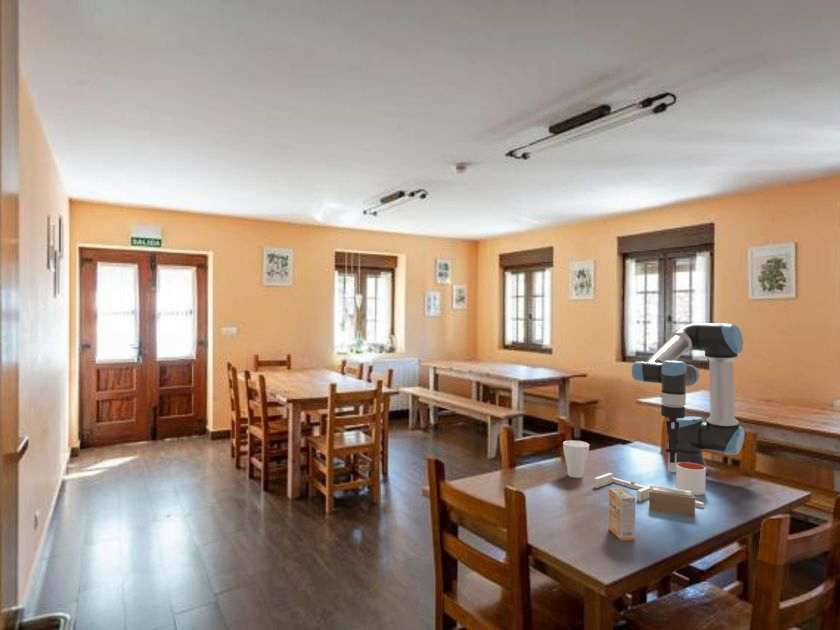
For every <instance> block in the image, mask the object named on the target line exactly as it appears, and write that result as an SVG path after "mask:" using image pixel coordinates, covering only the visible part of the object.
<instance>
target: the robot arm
mask: <svg viewBox="0 0 840 630" xmlns="http://www.w3.org/2000/svg"><path fill="white" fill-rule="evenodd" d="M742 334H743V333H742V331H741V330H740V328H739V327H738V326H737V325H736V324H733V323H726V322H725V323H723V322H722V323H715V322H714V323H712V322H709V323H708V322H707V323H706V322H705V323H704V322H702V323H701V322H694V323H690V324H686V325H684V326H682V327H679V328H678V329H676V330H675V331H673V332H672V333H670V335H669V336H668V338H667V341H666V342H665V343H663V345H662V346H661V347H659V348H658V349H657V350H656V351H655V352H654V353H653V354H651V355H650V356H649V358H647V359H646V360H645V361H643V360H641V361H635V362H633V364H632V366H631V376H632V378H633V379H634V380H635V381H638V382H643V383H654V384H661V394H659V398H661V401H660V402H661V405H660V407H661V408H660V416H662V417H664V418H668V420H666V434H667V436H668V437H667V438H668V440H667V442H668V443H667V448H666V449H665V453H667V472H669V473H670V472H671V473H675V474H676V473H677V463H679V462H689V463H695V464H699V465H702V466H704V467H705V468H706V474H707V473H708V472H707V469H708V468H707V464H706V461H705V459H704V455H703V450H704V451H710V452H716V453H721V454H724V455H732V456H735V455H738V454H739V453H740V451H741V450H742V447H743V444H744V441H745V429H744V427H742V426H740V421H739V420H738V419H736V417H735V386H734V385H735V384H734V379H735V378H734V376H735V375H734V361H735V360H736V358H738V354H741V353H742V351H743V349H744V348H743V347H744V341H743V340H744V339H743V335H742ZM690 351H700V352H702V351H703V352H704V357H705V358H706V359H707V360H708V362H709V363H708V365H709V408H710V409H709V410H710V412H709V413H710V415H709V417H707V418H706V420H704V418H703V417H700V416H686V407H685V406H686V405H687V403H686V402H687V401H686V396H687V395H686V388H687V387H690V386H693V385H695V384H697V382H698V381H699V379H700V376H701V375H700V371H699V370H698V368H697V367H696V366H695V365H693V364H686V362H685V361H683V360H678V359H679V358H680V357H681V356H682V355H684V354H686V353H688V352H690Z"/></svg>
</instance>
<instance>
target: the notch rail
mask: <svg viewBox="0 0 840 630" xmlns="http://www.w3.org/2000/svg"><path fill="white" fill-rule="evenodd" d="M612 482H613V483H615V484H617V485H620V486H621V485H622V486H624V487H627V488H631V489H634V490H636V501H639V502H642V501H645V500H648V499H649V491H650V485H651V486H653V485H654V486H657V485H655V484H650V485H647V486H645V485H641V484H638V483H636V482H634V481H631V482H630V481H628V480H623V479H620V478H616V477H614V473H612V472H608V473H606V474H602V475H599V476H596V477H594V481H593V487H594V488H596V489H598V488H601V486H602V487H604V486H606V485H609V484H612ZM696 507H697V508H699V509H700V508H701V509H704V508H705V503H704V502H702V501H698V500H695V508H696Z"/></svg>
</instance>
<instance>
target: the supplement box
mask: <svg viewBox="0 0 840 630" xmlns="http://www.w3.org/2000/svg"><path fill="white" fill-rule="evenodd" d="M608 490H609V491H608V530H609V531H610V532H612V534H613V535H615V536H616V537H617V538H618V539H619V540H620V541H635V539H636V538H635V533H636V532H635V531H636V497H635V496H634V495H632V494H631V493H630V492H629V491H627V490H626V489H624V488H623V487H621V488H620V487H619V488H618V487H615V488H614V487H613V488H611V487H610V488H609V489H608Z"/></svg>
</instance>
